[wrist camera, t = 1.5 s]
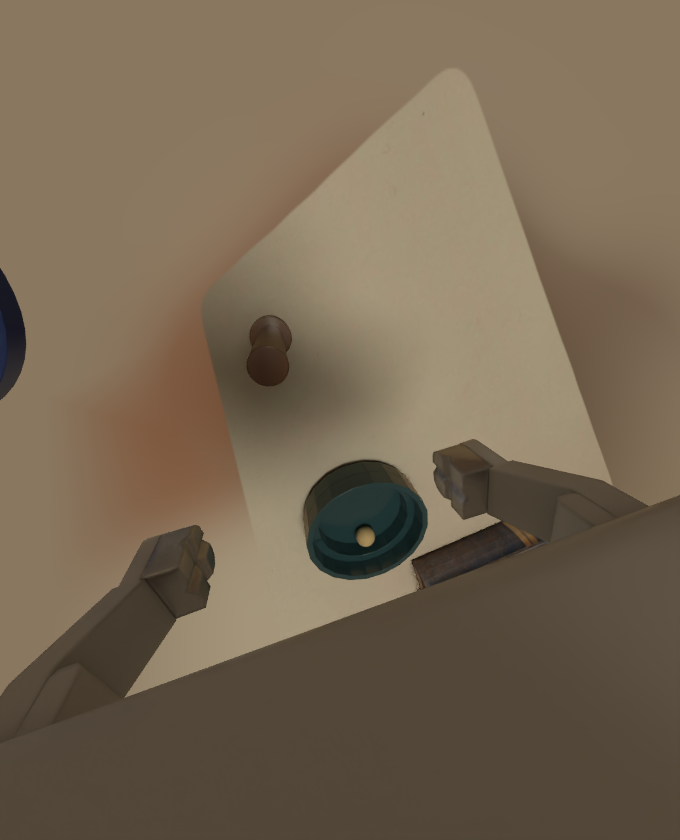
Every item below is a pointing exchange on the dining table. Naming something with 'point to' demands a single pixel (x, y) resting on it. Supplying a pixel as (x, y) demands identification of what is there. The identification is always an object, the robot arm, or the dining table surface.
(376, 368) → the dining table surface
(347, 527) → the bowl
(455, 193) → the dining table surface
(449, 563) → the book
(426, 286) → the dining table surface
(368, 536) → the dough ball
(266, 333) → the stirrer
